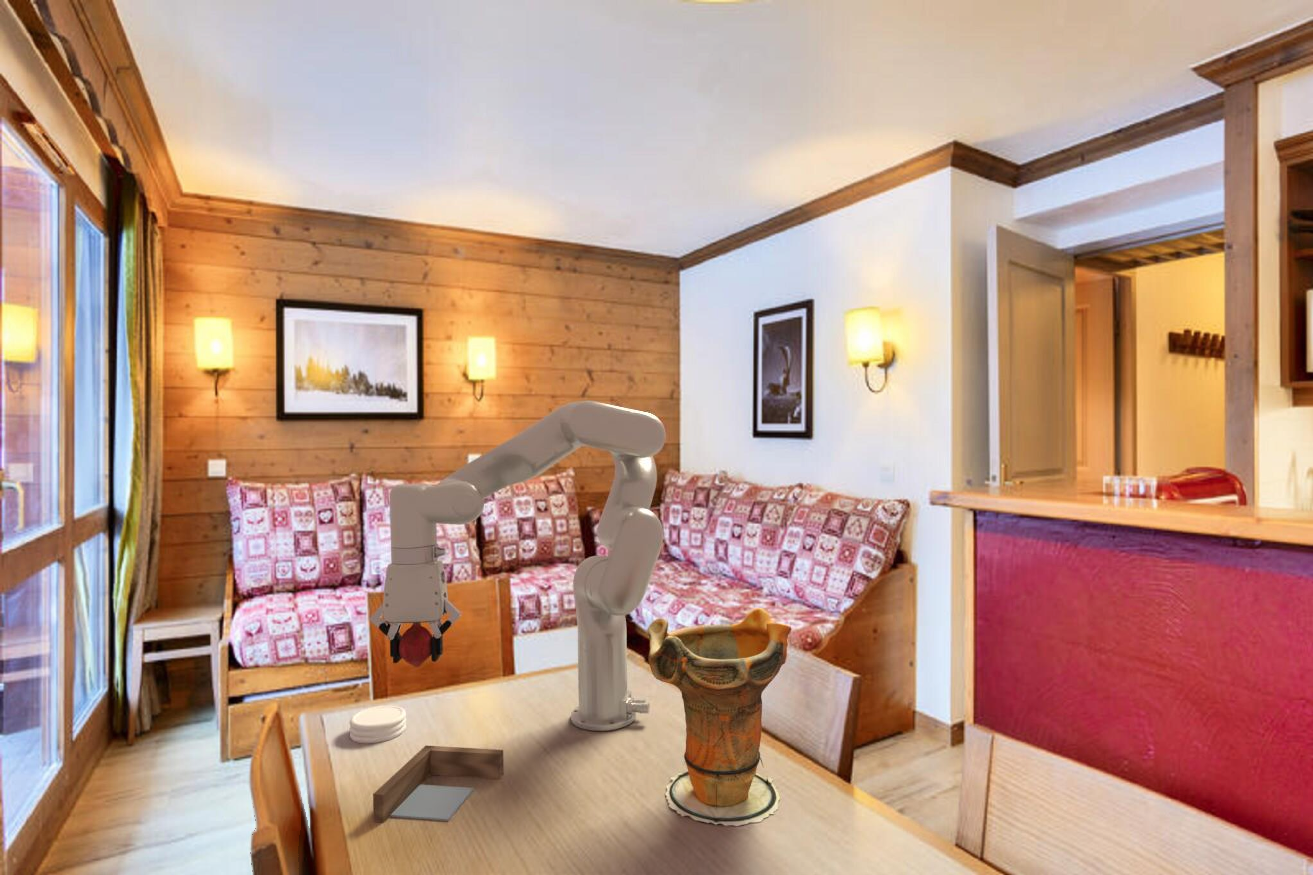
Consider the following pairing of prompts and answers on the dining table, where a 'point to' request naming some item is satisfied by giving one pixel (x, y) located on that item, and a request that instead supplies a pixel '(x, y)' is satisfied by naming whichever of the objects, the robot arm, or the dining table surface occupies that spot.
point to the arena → (435, 773)
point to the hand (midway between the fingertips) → (416, 658)
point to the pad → (433, 802)
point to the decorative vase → (721, 713)
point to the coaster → (377, 724)
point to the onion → (415, 645)
